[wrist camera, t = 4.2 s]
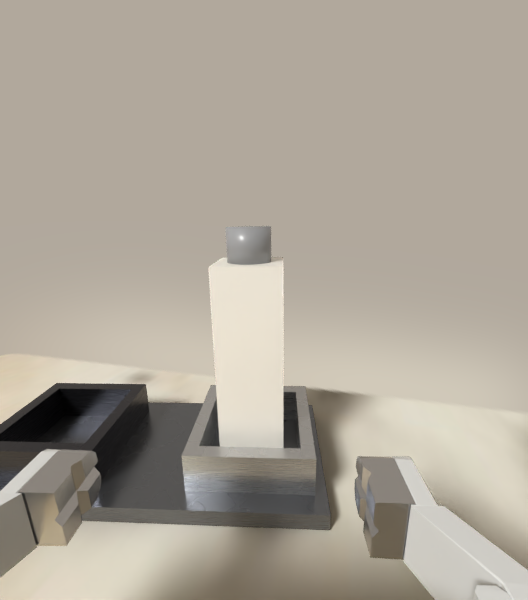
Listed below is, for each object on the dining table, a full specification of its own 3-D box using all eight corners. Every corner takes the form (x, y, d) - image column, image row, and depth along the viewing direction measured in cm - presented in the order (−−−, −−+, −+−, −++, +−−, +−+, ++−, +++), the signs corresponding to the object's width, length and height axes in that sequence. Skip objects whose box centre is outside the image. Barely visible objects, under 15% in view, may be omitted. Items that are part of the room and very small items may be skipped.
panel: (311, 415, 26) (312, 378, 25) (329, 530, 17) (332, 477, 16) (66, 410, 27) (58, 375, 26) (-51, 515, 18) (-69, 465, 17)
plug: (282, 428, 23) (282, 225, 19) (283, 469, 19) (283, 227, 15) (231, 426, 23) (220, 226, 20) (221, 467, 20) (205, 228, 16)
